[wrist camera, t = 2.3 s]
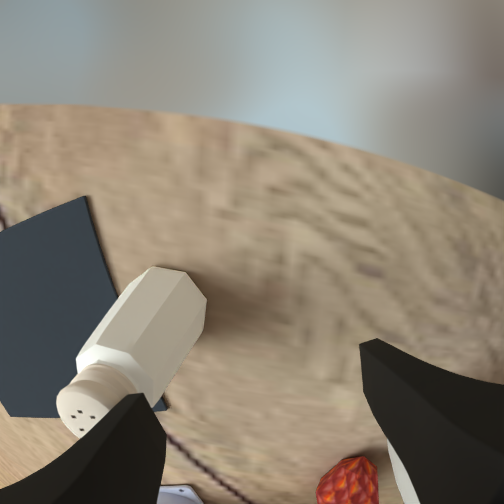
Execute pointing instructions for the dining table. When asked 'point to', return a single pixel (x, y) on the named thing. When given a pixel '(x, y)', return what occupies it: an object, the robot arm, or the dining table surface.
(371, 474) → the decorative stone
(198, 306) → the salt shaker
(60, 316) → the mat
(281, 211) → the dining table surface
